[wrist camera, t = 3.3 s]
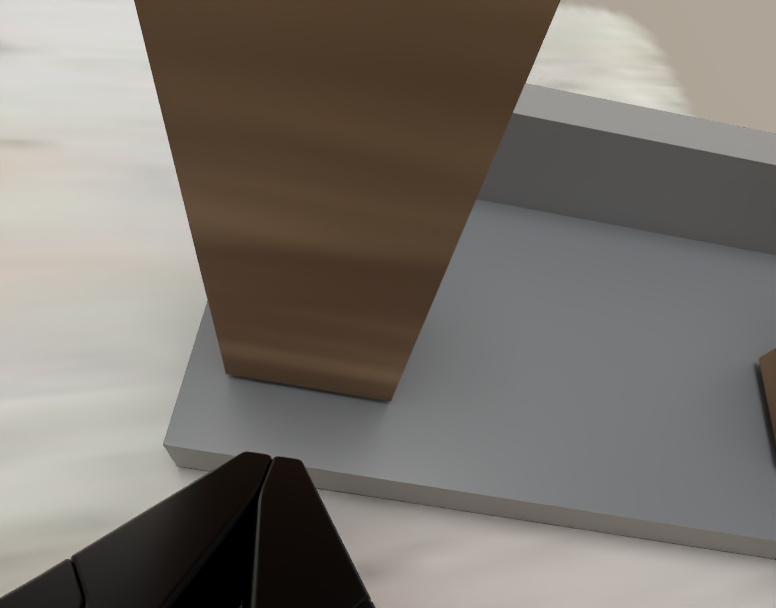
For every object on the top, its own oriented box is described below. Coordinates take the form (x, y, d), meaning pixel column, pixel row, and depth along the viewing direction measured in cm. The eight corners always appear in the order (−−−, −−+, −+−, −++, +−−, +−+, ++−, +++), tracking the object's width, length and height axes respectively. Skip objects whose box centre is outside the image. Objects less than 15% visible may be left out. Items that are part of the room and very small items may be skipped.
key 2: (390, 401, 15) (635, -175, 4) (225, 374, 14) (59, -306, 4) (404, 295, 16) (608, -323, 6) (254, 268, 16) (186, -428, 6)
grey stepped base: (905, 579, 17) (1150, 555, 12) (177, 466, 15) (126, 389, 11) (821, 275, 22) (970, 172, 17) (263, 171, 20) (255, 28, 16)
